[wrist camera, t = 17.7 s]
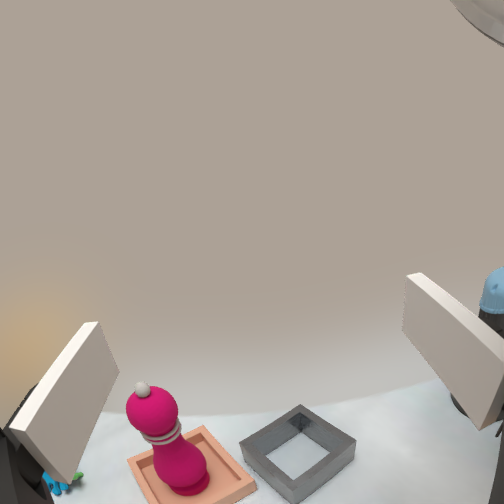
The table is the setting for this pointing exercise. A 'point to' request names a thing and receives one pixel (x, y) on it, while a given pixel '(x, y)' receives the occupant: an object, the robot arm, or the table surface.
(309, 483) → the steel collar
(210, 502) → the terracotta tray
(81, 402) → the robot arm
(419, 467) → the table surface
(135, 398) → the pepper mill
